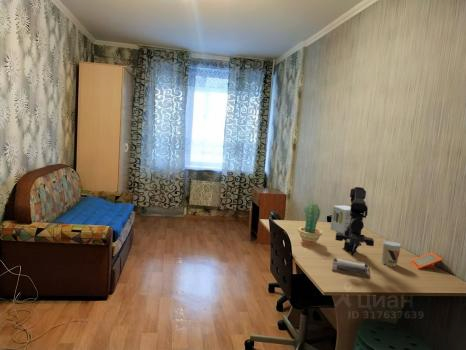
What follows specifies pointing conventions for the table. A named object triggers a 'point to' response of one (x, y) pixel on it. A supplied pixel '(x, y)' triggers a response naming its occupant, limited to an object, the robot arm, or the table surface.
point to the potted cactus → (310, 225)
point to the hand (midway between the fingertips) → (352, 255)
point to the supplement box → (340, 218)
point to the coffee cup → (390, 252)
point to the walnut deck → (350, 271)
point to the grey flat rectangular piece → (351, 265)
